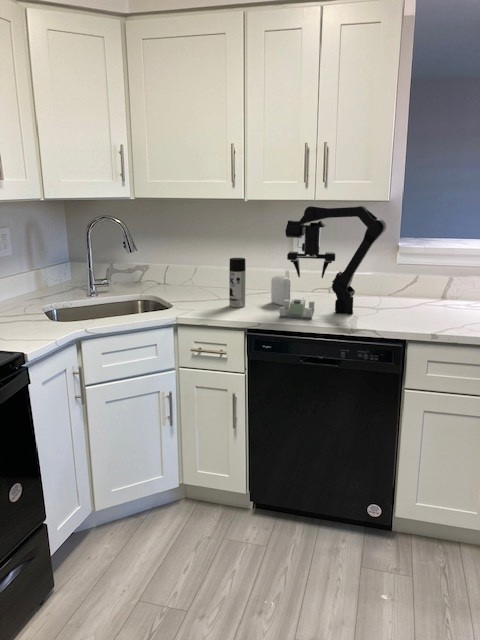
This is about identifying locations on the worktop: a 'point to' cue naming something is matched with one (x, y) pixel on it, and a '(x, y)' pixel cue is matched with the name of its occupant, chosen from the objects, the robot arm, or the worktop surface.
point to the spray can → (237, 282)
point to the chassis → (286, 314)
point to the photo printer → (280, 289)
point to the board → (297, 306)
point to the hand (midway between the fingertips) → (310, 277)
